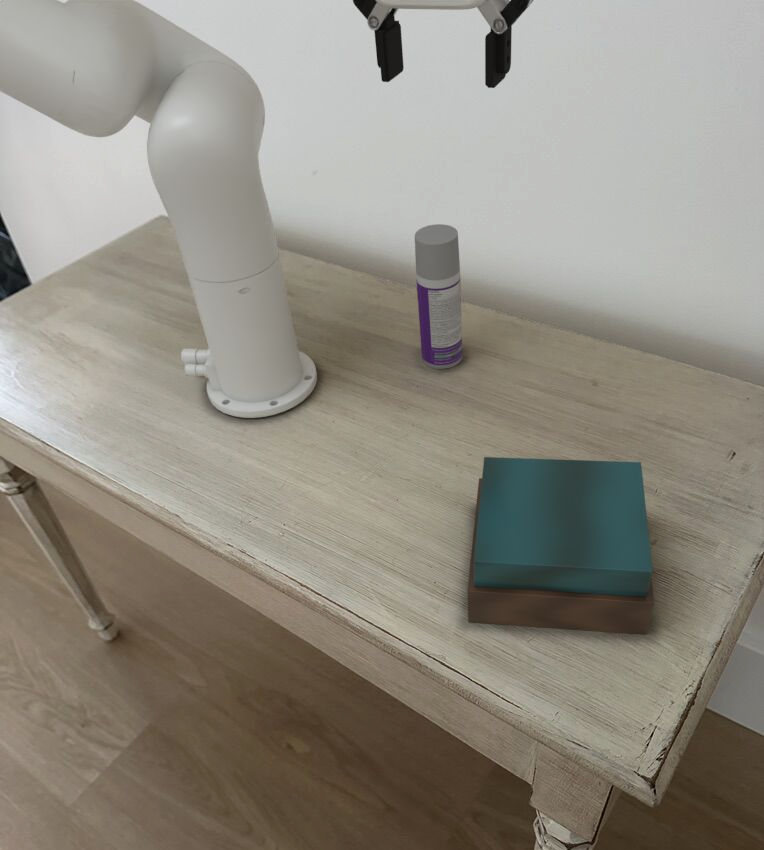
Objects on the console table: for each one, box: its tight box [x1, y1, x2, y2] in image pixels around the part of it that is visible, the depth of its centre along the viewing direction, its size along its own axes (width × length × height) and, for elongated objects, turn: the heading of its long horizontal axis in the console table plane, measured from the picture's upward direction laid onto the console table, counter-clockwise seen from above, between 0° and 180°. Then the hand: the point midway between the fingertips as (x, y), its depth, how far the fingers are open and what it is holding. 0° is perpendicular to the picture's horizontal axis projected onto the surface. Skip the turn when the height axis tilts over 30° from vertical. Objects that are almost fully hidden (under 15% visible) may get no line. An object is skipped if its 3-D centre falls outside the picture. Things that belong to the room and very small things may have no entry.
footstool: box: [466, 456, 655, 635], centre depth 65 cm, size 14×13×7 cm
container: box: [414, 223, 463, 370], centre depth 86 cm, size 5×5×15 cm
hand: (443, 79), depth 68 cm, fingers open, 9 cm apart
